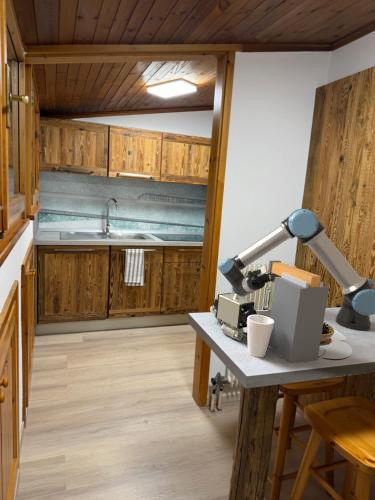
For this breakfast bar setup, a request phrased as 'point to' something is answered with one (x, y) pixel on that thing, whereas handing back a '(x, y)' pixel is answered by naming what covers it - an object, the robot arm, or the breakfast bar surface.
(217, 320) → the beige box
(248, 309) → the ball valve
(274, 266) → the orange bar
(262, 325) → the foam cup
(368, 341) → the breakfast bar surface
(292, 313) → the charcoal stand
